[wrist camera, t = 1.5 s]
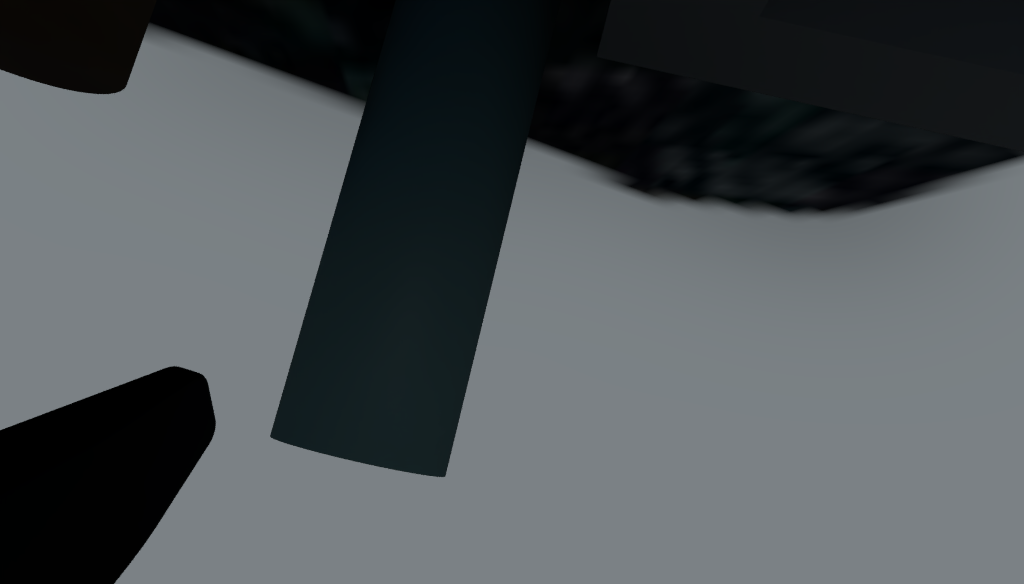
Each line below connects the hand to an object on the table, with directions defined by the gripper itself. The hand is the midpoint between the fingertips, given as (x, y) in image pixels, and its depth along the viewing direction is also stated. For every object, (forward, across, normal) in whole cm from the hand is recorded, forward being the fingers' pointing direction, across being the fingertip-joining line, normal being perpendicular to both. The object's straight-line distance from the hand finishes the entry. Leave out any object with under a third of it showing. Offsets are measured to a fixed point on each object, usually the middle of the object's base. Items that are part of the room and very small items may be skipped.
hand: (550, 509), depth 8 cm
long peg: (+16, +7, -2) cm, 18 cm away
